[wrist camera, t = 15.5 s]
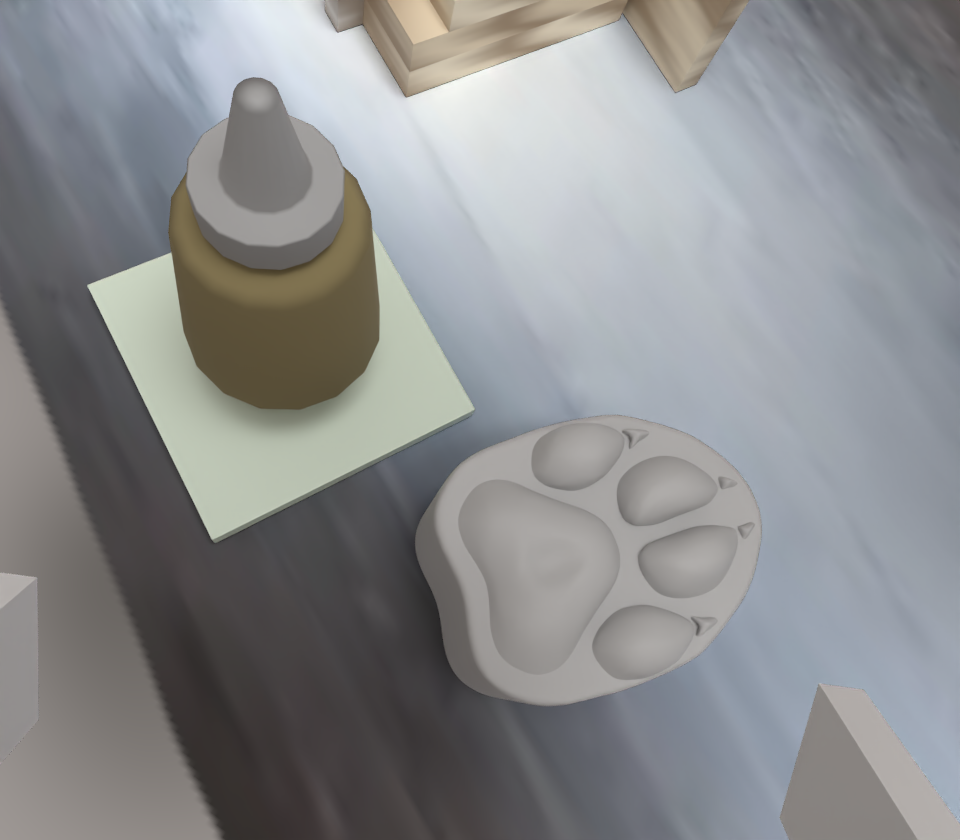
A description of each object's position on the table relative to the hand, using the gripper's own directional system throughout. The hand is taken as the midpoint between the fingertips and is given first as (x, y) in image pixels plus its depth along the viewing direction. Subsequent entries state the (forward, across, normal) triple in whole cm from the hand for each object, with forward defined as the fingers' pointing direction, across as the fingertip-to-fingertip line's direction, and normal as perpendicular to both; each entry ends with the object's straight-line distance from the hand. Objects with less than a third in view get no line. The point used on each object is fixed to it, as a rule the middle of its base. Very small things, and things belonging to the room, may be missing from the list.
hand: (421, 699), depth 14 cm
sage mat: (+26, -9, -1) cm, 28 cm away
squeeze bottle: (+26, -8, 0) cm, 27 cm away
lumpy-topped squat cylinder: (+24, +6, -8) cm, 26 cm away
